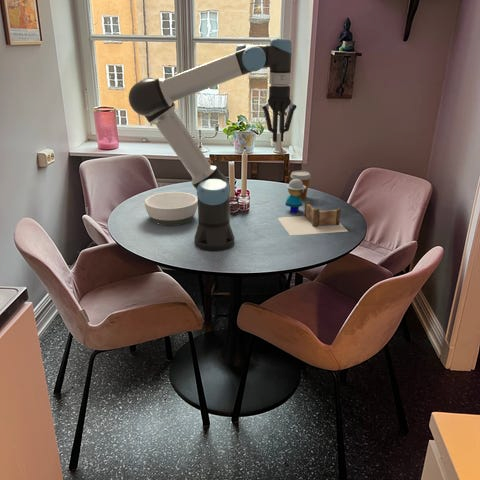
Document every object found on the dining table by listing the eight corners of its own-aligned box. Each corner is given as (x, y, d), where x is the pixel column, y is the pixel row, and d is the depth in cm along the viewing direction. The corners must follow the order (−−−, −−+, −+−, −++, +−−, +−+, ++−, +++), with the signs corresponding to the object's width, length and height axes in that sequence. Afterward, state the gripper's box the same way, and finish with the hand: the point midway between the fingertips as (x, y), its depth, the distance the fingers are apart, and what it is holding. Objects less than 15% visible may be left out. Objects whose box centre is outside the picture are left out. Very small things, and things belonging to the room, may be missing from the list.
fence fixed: (313, 227, 197) (314, 210, 195) (311, 225, 200) (312, 208, 197) (340, 225, 199) (341, 208, 197) (338, 223, 202) (339, 206, 199)
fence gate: (316, 223, 200) (317, 209, 198) (311, 223, 200) (312, 209, 197) (307, 215, 209) (308, 201, 207) (303, 215, 209) (304, 201, 206)
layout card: (290, 236, 189) (290, 235, 189) (277, 218, 207) (277, 217, 207) (348, 232, 194) (348, 231, 193) (330, 215, 212) (330, 214, 211)
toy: (303, 215, 211) (305, 182, 205) (283, 214, 212) (285, 181, 207) (305, 209, 219) (307, 177, 213) (286, 207, 220) (287, 175, 214)
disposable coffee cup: (310, 195, 237) (311, 171, 233) (308, 201, 229) (309, 176, 224) (290, 193, 239) (291, 170, 235) (288, 199, 231) (289, 175, 226)
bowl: (142, 212, 215) (141, 194, 211) (192, 207, 221) (191, 189, 218) (149, 230, 195) (148, 211, 192) (204, 224, 201) (203, 205, 198)
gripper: (264, 86, 169) (263, 153, 179) (300, 85, 172) (297, 151, 181) (259, 84, 176) (258, 148, 185) (294, 83, 178) (291, 147, 188)
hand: (277, 150), depth 183 cm, fingers closed
